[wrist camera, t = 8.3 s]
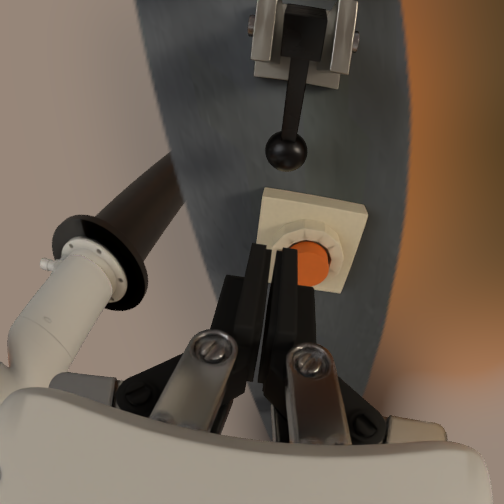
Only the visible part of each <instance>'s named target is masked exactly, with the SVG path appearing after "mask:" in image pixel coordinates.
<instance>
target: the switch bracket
mask: <svg viewBox="0 0 504 504" xmlns="http://www.w3.org/2000/svg"><path fill="white" fill-rule="evenodd" d="M286 7H287V4H283V3H282V0H257V6H256V14H255V15H250V17H249V21H248V35H249V36H251V37H253V41H252V50H251V60H254V61H255V66H254V77H263V78H272V79H279V80H287V81H288V75H289V66H290V57H283V56H280V53H281V42H282V32H283V20H284V13H285V10H286ZM357 8H358V2H357V1H354V0H337V2H336V3H335V5H334V6H333V8H332V10H331V11H328V10H326V12H327V18H328V23H327V28H326V34H325V40H324V45H323V51H322V56H321V61H320V62H315V61H310V62H309V68H308V74H307V80H306V84H312V85H317V86H322V87H327V88H332V89H338V86H339V80H340V74H344V75H348V74H349V67H350V61H351V54H352V52H353V53H355V52H356V51H357V49H358V45H359V37H360V36H359V32H358V31H355V25H356V17H357Z"/></svg>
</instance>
